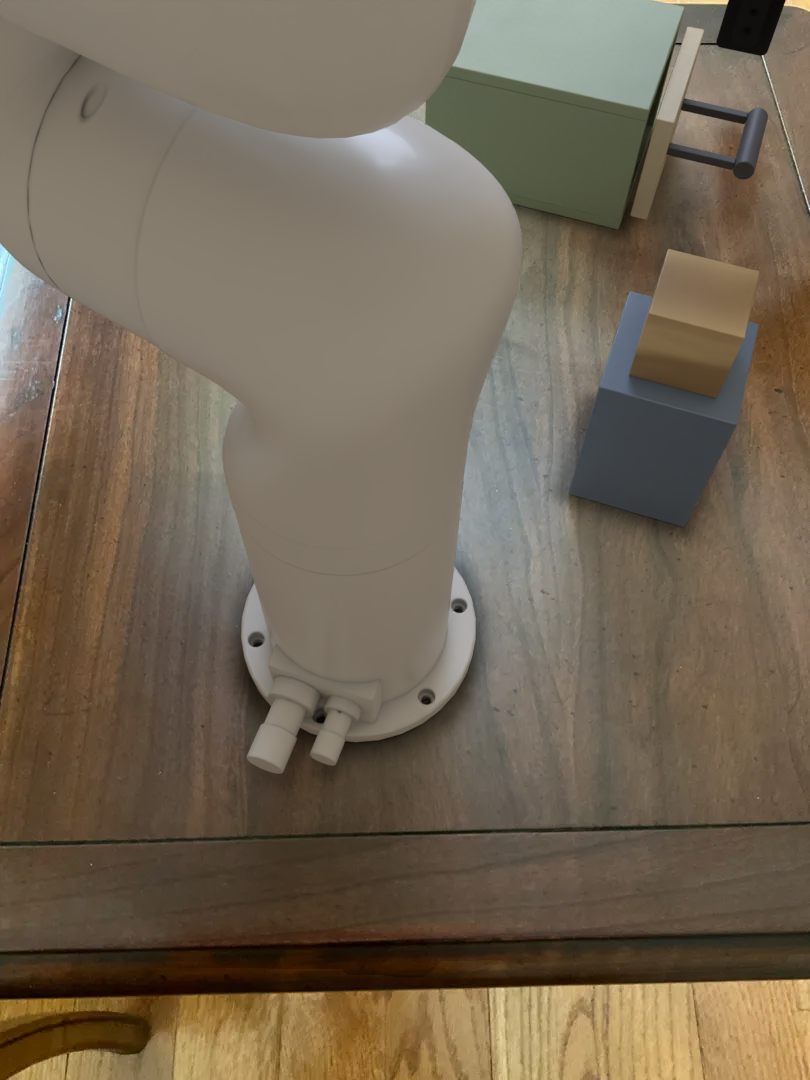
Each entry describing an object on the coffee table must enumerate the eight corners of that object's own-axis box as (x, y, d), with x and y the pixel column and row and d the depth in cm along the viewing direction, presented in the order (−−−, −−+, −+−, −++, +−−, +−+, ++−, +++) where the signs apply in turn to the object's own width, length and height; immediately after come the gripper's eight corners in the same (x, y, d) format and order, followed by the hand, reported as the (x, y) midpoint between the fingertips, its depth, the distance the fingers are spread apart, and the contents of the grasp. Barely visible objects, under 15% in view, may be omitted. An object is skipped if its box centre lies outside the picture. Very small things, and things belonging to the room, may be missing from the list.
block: (716, 399, 48) (744, 338, 44) (628, 375, 49) (648, 313, 45) (732, 334, 50) (760, 271, 46) (647, 312, 51) (668, 248, 47)
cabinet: (652, 128, 74) (685, 6, 65) (618, 230, 68) (649, 110, 60) (470, 87, 76) (479, -36, 68) (423, 182, 71) (426, 60, 62)
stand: (684, 527, 56) (737, 425, 48) (567, 493, 57) (598, 387, 49) (706, 435, 59) (759, 323, 51) (595, 405, 61) (629, 290, 52)
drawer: (754, 146, 72) (792, 47, 65) (730, 240, 67) (768, 144, 60) (503, 89, 75) (514, -11, 68) (462, 175, 70) (470, 77, 63)
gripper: (934, -240, 41) (784, 132, 57) (957, -377, 48) (818, -11, 64) (755, -268, 42) (658, 104, 58) (804, -398, 49) (705, -33, 65)
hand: (742, 43), depth 61 cm, fingers closed
